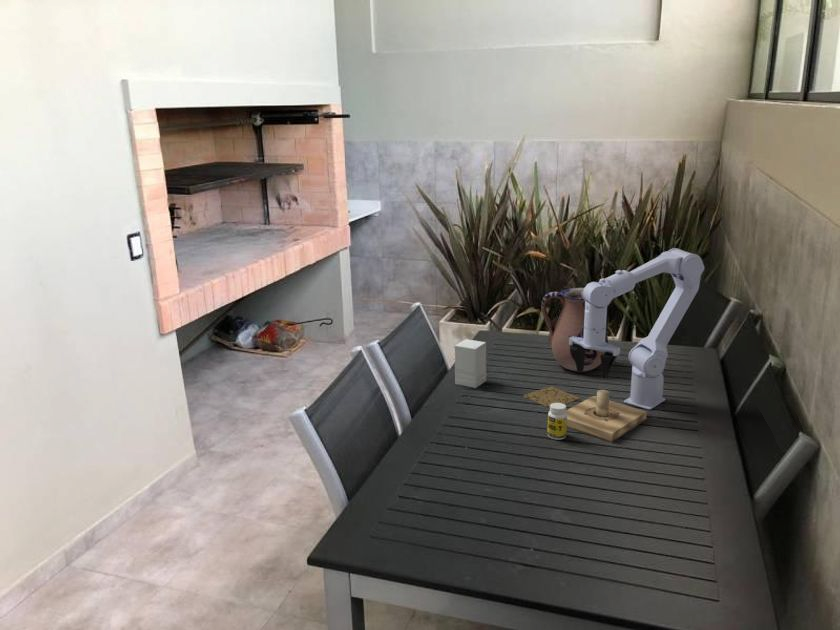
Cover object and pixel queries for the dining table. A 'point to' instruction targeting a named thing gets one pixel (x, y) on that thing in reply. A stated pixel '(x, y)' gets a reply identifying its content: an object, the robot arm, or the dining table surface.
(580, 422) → the bore board
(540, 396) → the cookie
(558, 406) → the supplement bottle
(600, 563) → the dining table surface
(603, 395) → the dowel
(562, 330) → the ceramic pitcher
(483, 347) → the supplement box
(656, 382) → the robot arm
